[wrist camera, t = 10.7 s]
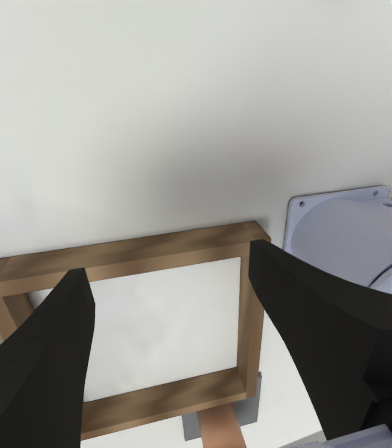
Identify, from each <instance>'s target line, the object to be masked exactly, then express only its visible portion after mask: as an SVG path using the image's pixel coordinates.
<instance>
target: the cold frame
mask: <svg viewBox="0 0 392 448" xmlns="http://www.w3.org/2000/svg"><path fill="white" fill-rule="evenodd" d="M259 239H264V240H266V241H268V242H270V243H271V238H270V237H269V236H268V234H267V233H266V232H265V231H264V230H263V229H262V228H261V226H260V225H259V224H258V223H257V222H256V221H251V222H244V223H237V224H231V225H224V226H217V227H210V228H203V229H197V230H190V231H183V232H176V233H170V234H163V235H156V236H149V237H142V238H136V239H129V240H122V241H115V242H108V243H102V244H95V245H88V246H81V247H74V248H68V249H61V250H54V251H47V252H40V253H34V254H27V255H20V256H13V257H7V258H0V344H2V343H3V342H4V341H5V340H6V339H7V338H8V337H9V336H10V335H11V334H12V333H13V332H15V331H16V330H17V329H18V328H19V327H20V326H21V325H22V324H23V323H24V322H25V320H26V319H27V318H28V317H29V316H30V315H31V314H32V313H33V312H34V309H33V306H32V304H31V302H30V299H29V297H28V295H27V292H33V291H39V290H45V289H51V288H54V287H55V286H56V285H57V284H58V283H59V281H60V280H61V279H62V278H63V276H64V275H65V274H66V273H67V272H68V270H71V269H77V268H83V267H85V271H86V274H87V277H88V281H89V282H93V281H99V280H104V279H110V278H116V277H122V276H128V275H134V274H140V273H146V272H152V271H158V270H164V269H170V268H176V267H182V266H188V265H194V264H200V263H206V262H212V261H218V260H224V259H230V258H235V257H241V269H240V295H239V321H238V347H237V367H235V368H231V369H227V370H223V371H218V372H214V373H210V374H206V375H201V376H197V377H193V378H189V379H185V380H180V381H176V382H172V383H168V384H163V385H159V386H155V387H151V388H146V389H142V390H138V391H134V392H129V393H125V394H121V395H117V396H112V397H108V398H104V399H100V400H95V401H91V402H87V403H83V409H82V424H81V441H82V440H86V439H90V438H94V437H98V436H102V435H106V434H110V433H114V432H117V431H121V430H125V429H129V428H133V427H137V426H141V425H145V424H149V423H153V422H156V421H160V420H164V419H168V418H172V417H176V416H180V415H184V414H188V413H192V412H195V411H199V410H203V409H207V408H211V407H215V406H219V405H223V404H227V403H231V402H234V401H238V400H242V399H246V398H250V397H254V396H256V391H257V380H258V370H259V360H260V349H261V339H262V329H263V318H264V308H263V306H262V304H261V303H260V301H259V299H258V298H257V296H256V294H255V292H254V289H253V287H252V285H251V282H250V280H249V278H248V270H249V252H250V241H253V240H259Z"/></svg>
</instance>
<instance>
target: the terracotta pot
mask: <svg viewBox="0 0 392 448" xmlns="http://www.w3.org/2000/svg"><path fill="white" fill-rule="evenodd" d="M196 413H197V418H198V423H199V428H200V433H201V438H202V443H203V448H246V444H245V441H244V438H243V435H242V432H241V428H240V425H239V422H238V419H237V416H236V413H235V409H234V406H233V403H232V402H231V403H227V404H223V405H219V406H215V407H211V408H207V409H203V410H199V411H196Z"/></svg>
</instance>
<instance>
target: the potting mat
mask: <svg viewBox="0 0 392 448" xmlns="http://www.w3.org/2000/svg"><path fill="white" fill-rule="evenodd" d="M261 379H262V376H261V374H260V372H258V380H257V391H256V396H254V397H250V398H246V399H242V400H238V401H234V402H232V403H233V406H234V409H235V413H236V416H237V419H238V422H239V425H240V426H243V425H247V424H251V423H254V422H257V417H258V407H259V398H260V389H261ZM182 420H183V428H184V436H185V441H188V440H192V439H196V438H199V437H201V433H200V428H199V423H198V418H197V413H196V411H195V412H192V413H188V414H184V415H182Z"/></svg>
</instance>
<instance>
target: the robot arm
mask: <svg viewBox="0 0 392 448" xmlns="http://www.w3.org/2000/svg"><path fill="white" fill-rule="evenodd" d="M373 193H374V194H373ZM389 193H390V188H389V187H387V186H377V187H370V188H362V189H355V190H348V191H340V192H333V193H325V194H318V195H311V196H303V197H296V198H293V199H292V200H291V201H290V203H289V209H288V217H287V225H286V233H285V241H284V249H283V250H282V249H281V248H279V247H277V246H275V245H274V244H272V243H270V242H268V241H266V240H264V239H259V240H253V241H250V252H249V270H248V278H249V280H250V282H251V285H252V287H253V289H254V292H255V294H256V296H257V298H258V299H259V301H260V303H261V304H262V306H263V308H264V309H265V311H266V313H267V314H268V316H269V318H270V319H271V321H272V322H273V324H274V326H275V327H276V329H277V331H278V332H279V334H280V336H281V337H282V339H283V341H284V343H285V345H286V347H287V349H288V351H289V353H290V355H291V357H292V359H293V361H294V363H295V365H296V368H297V370H298V372H299V374H300V377H301V379H302V381H303V383H304V385H305V388H306V390H307V392H308V395H309V397H310V400H311V402H312V404H313V407H314V409H315V411H316V414H317V416H318V419H319V421H320V424H321V427H322V429H323V432H324V434H325V437H326V439H327V441H325V442H322V443H321V442H310V443H305V444H299V445H296V446H292V447H289V448H392V199H390V198H388V196H389ZM301 201H303V202H302V204H301V205H299V204H300V202H301ZM94 325H95V302H94V298H93V295H92V291H91V288H90V284H89V281H88V277H87V274H86V271H85V267H83V268H77V269H71V270H68V272H67V273H66V274H65V275H64V276H63V278H62V279H61V280H60V281H59V283H58V284H57V285H56V286H55V287H54V289H53V290H52V291H51V292H50V294H49V295H48V296H47V297H46V298H45V299H44V301H43V302H42V303H41V304H40V305H39V306H38V308H37V309H36V310H35V311H34V312H33V313H32V314H31V315H30V316H29V317H28V318H27V319H26V320H25V322H24V323H23V324H22V325H21V326H20V327H19V328H18V329H17V330H16V331H15V332H13V333H12V334H11V335H10V336H9V337H8V338H7V339H6V340H5V341H4V342H3V343H2V344H0V448H80V442H81V424H82V409H83V395H84V386H85V378H86V373H87V367H88V361H89V356H90V350H91V344H92V338H93V333H94Z"/></svg>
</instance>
